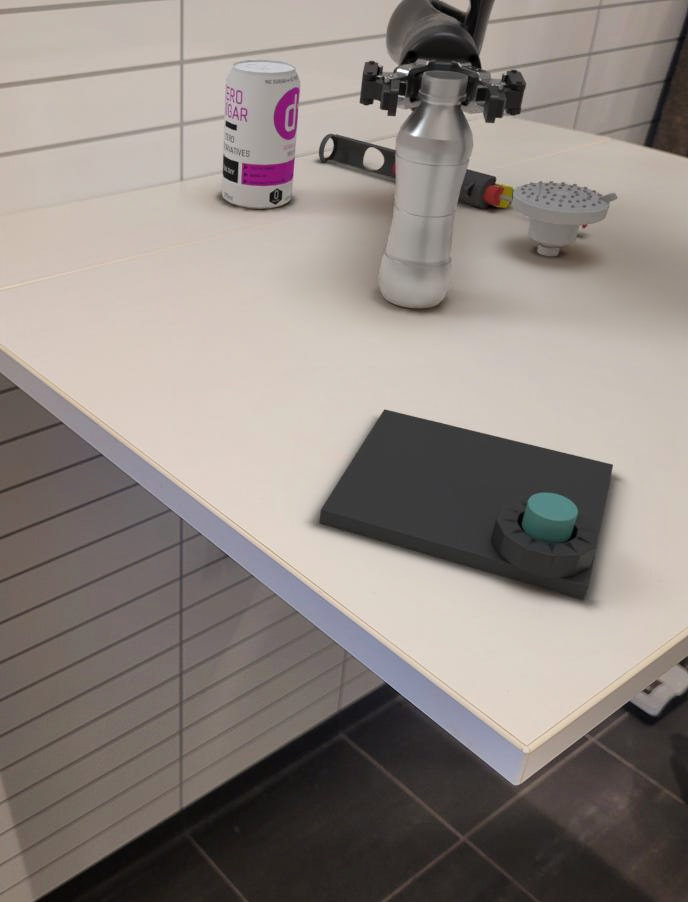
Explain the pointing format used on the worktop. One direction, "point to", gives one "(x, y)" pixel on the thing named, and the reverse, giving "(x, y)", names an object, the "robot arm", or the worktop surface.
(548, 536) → the button
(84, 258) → the worktop surface
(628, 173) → the worktop surface
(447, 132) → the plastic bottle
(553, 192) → the showerhead
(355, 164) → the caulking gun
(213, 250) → the worktop surface
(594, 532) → the scale
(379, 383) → the worktop surface
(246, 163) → the supplement can
